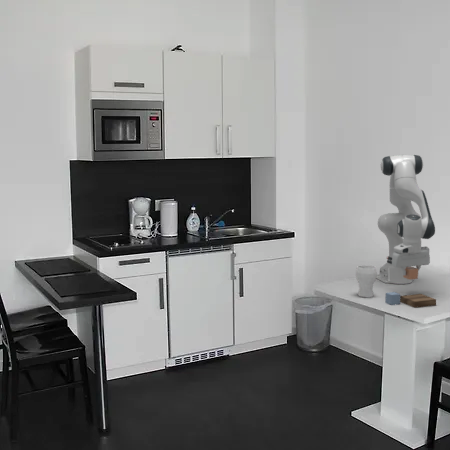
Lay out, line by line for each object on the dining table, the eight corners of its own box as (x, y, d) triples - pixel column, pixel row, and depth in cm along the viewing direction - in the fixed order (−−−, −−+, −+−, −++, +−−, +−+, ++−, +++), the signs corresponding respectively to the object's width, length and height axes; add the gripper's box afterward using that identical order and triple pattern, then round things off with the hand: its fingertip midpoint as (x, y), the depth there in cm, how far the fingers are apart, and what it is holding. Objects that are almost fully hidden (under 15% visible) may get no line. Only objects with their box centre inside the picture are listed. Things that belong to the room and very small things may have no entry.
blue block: (385, 302, 305) (385, 292, 304) (394, 301, 306) (394, 291, 306) (391, 305, 300) (391, 295, 299) (399, 304, 302) (400, 294, 301)
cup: (373, 299, 312) (373, 269, 310) (352, 296, 317) (353, 267, 315) (378, 294, 321) (379, 265, 319) (358, 292, 326) (359, 264, 324)
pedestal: (400, 301, 306) (400, 295, 305) (420, 299, 309) (420, 293, 309) (414, 307, 294) (415, 301, 294) (436, 305, 298) (436, 299, 298)
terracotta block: (403, 277, 312) (403, 267, 311) (411, 276, 313) (412, 266, 312) (409, 279, 307) (409, 269, 306) (417, 278, 309) (418, 268, 308)
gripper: (425, 245, 314) (424, 271, 316) (390, 247, 307) (389, 274, 310) (433, 247, 308) (431, 274, 310) (398, 250, 302) (396, 277, 304)
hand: (410, 274), depth 310 cm, fingers closed on terracotta block, 5 cm apart
